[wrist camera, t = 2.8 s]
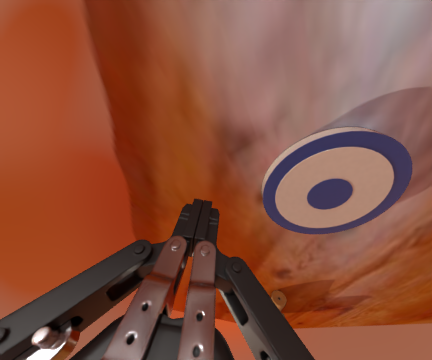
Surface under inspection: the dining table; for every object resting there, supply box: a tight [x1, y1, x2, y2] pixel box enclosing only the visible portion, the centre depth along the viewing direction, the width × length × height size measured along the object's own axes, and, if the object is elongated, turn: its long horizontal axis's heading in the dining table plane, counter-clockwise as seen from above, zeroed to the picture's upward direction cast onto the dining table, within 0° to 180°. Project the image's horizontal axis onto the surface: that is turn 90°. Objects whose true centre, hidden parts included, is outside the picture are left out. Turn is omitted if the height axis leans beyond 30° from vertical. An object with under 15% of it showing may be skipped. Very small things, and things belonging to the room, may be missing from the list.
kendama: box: [271, 290, 286, 317], centre depth 38 cm, size 8×6×18 cm
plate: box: [262, 127, 412, 234], centre depth 18 cm, size 14×14×1 cm
